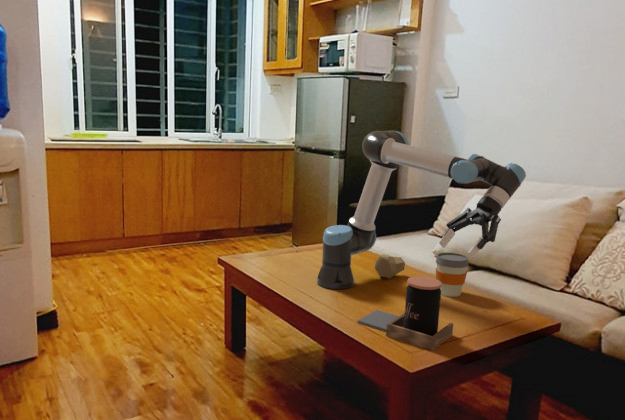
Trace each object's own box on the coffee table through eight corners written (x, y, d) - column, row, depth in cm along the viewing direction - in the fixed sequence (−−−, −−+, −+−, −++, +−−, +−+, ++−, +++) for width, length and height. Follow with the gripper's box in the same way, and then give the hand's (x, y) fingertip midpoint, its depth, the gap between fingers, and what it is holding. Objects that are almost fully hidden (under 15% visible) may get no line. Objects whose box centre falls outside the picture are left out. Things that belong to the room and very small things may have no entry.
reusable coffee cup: (464, 300, 204) (467, 262, 202) (431, 295, 209) (434, 258, 206) (466, 290, 216) (470, 254, 213) (435, 285, 220) (438, 250, 217)
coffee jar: (399, 328, 175) (403, 275, 172) (431, 328, 176) (435, 276, 173) (408, 342, 165) (412, 286, 161) (441, 342, 166) (446, 287, 162)
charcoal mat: (357, 322, 178) (357, 320, 178) (376, 311, 189) (376, 309, 189) (389, 332, 171) (389, 330, 171) (407, 320, 182) (407, 318, 182)
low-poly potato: (373, 281, 224) (397, 273, 218) (366, 256, 227) (390, 248, 222) (387, 282, 236) (411, 274, 231) (381, 259, 240) (404, 251, 234)
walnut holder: (386, 335, 169) (386, 324, 168) (407, 322, 181) (408, 310, 180) (433, 350, 160) (434, 338, 159) (452, 335, 171) (453, 323, 171)
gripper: (527, 216, 170) (489, 266, 166) (470, 204, 192) (435, 248, 187) (517, 200, 167) (478, 252, 162) (460, 190, 188) (424, 235, 184)
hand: (455, 250), depth 175 cm, fingers open, 13 cm apart
